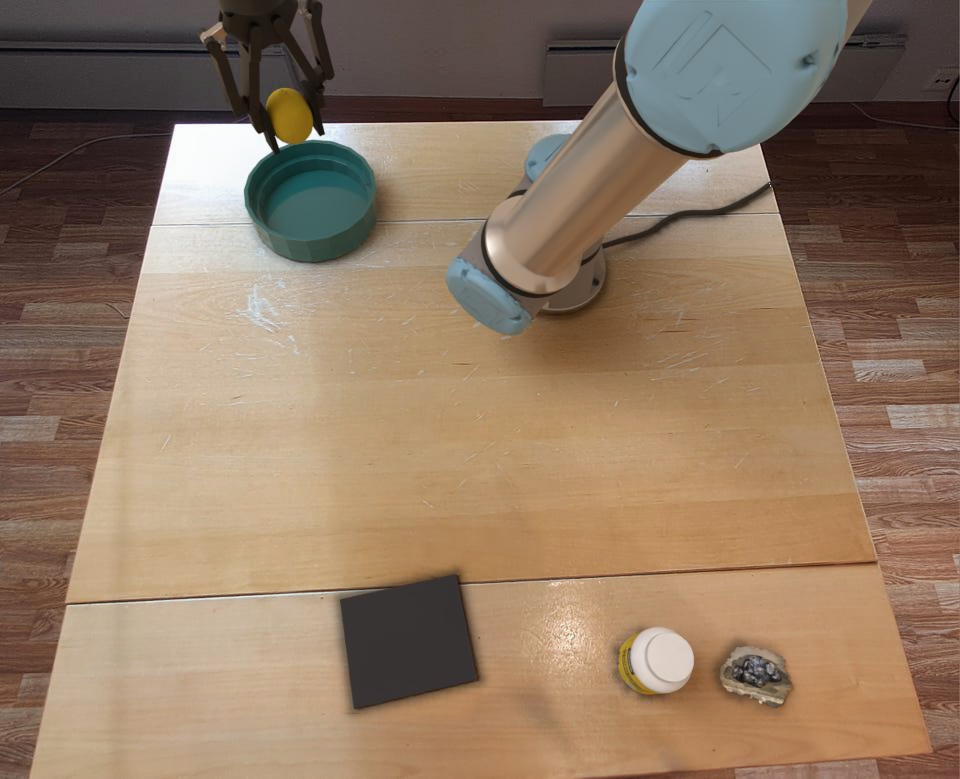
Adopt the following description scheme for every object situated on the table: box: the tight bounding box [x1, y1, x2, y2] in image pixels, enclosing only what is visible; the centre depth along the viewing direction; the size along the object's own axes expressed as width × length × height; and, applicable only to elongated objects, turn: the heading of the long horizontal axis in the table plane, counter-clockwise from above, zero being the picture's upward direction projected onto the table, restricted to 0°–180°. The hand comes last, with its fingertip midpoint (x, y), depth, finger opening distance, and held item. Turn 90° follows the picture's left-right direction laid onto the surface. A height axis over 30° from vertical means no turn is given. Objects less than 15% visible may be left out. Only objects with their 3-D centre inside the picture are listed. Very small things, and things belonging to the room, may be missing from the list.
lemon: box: [265, 87, 314, 145], centre depth 85 cm, size 6×6×8 cm
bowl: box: [243, 139, 381, 263], centre depth 104 cm, size 19×19×6 cm
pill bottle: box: [616, 626, 695, 696], centre depth 74 cm, size 6×6×12 cm
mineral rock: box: [718, 645, 794, 709], centre depth 78 cm, size 7×8×2 cm
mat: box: [339, 573, 478, 710], centre depth 79 cm, size 14×12×1 cm
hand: (295, 137), depth 88 cm, fingers closed on lemon, 6 cm apart
